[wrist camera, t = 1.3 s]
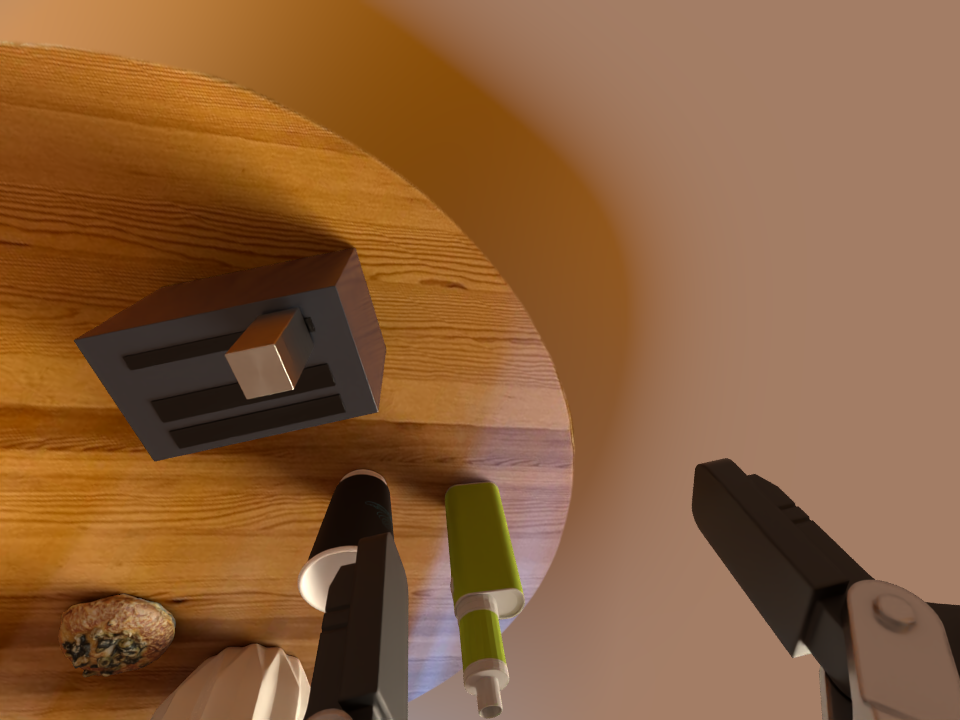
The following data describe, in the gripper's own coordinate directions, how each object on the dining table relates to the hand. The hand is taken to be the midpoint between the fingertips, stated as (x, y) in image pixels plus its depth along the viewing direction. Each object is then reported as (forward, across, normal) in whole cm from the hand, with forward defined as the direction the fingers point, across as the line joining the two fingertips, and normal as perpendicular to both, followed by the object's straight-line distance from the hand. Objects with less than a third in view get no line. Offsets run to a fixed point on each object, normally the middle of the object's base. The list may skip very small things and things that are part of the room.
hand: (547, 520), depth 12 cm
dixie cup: (+28, +14, +21) cm, 38 cm away
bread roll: (+28, +43, +33) cm, 61 cm away
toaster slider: (+17, +11, 0) cm, 21 cm away
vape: (+28, +3, +26) cm, 38 cm away
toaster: (+28, +15, +2) cm, 32 cm away
